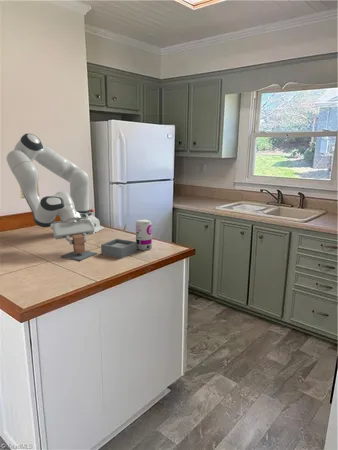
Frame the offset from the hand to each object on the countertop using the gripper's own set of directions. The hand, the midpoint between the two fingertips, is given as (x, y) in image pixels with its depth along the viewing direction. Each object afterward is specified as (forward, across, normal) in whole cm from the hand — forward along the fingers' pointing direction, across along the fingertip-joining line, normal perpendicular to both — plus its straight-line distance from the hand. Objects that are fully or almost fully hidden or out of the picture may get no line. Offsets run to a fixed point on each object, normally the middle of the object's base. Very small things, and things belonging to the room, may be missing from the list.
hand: (78, 242), depth 162 cm
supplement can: (+10, +33, -1) cm, 34 cm away
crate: (+10, +18, -1) cm, 21 cm away
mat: (+5, 0, +4) cm, 6 cm away
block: (+3, 0, +3) cm, 4 cm away
